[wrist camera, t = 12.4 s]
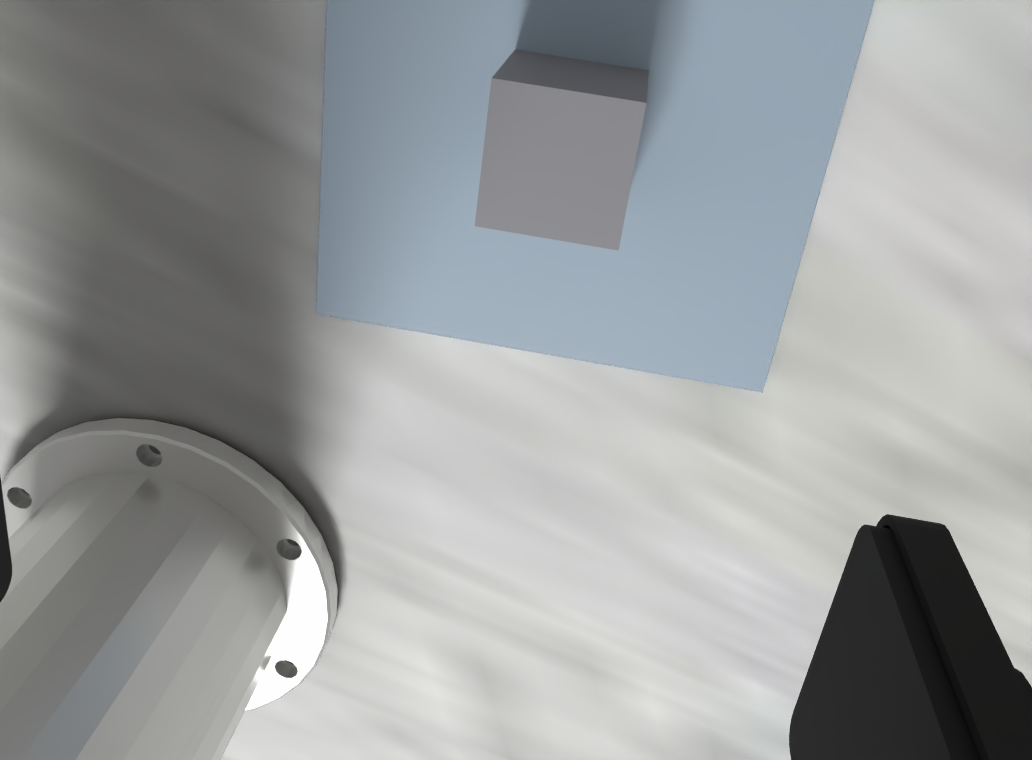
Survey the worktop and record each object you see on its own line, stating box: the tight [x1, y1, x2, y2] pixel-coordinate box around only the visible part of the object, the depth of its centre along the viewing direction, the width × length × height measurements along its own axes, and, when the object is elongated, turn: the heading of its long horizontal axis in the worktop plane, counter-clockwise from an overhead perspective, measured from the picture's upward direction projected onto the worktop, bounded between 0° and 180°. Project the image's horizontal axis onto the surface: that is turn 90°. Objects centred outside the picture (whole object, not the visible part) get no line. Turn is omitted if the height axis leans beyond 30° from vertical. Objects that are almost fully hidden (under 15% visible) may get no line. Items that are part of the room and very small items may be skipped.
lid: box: [316, 0, 874, 393], centre depth 25 cm, size 14×14×5 cm
